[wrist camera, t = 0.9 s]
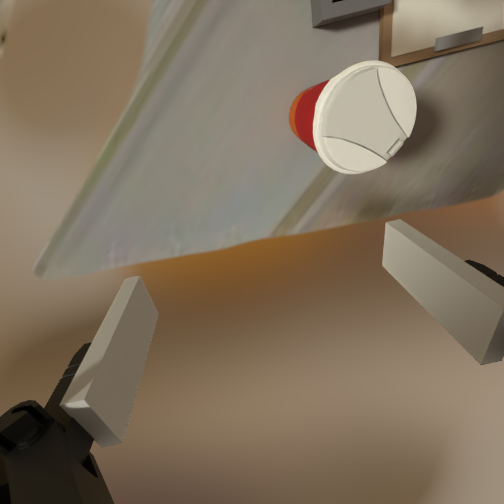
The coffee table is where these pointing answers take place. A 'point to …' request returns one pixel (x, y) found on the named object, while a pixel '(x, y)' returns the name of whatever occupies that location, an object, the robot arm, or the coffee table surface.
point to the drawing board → (437, 28)
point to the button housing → (342, 10)
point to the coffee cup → (356, 116)
